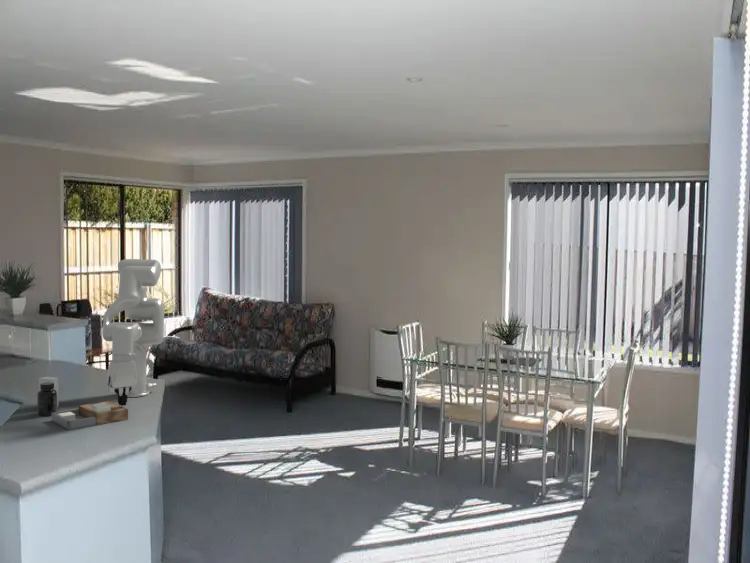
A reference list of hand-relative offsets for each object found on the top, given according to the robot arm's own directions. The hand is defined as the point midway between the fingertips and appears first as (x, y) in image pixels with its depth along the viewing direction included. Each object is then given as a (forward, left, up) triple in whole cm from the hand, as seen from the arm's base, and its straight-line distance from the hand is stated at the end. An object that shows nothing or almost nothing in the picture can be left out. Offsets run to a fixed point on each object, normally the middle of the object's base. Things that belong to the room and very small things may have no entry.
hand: (122, 404), depth 251 cm
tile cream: (+18, -8, -2) cm, 20 cm away
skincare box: (+16, -32, -5) cm, 36 cm away
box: (+17, -4, -5) cm, 18 cm away
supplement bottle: (+20, -22, -5) cm, 30 cm away
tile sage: (+8, 0, -1) cm, 8 cm away
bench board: (+6, -4, -5) cm, 8 cm away
